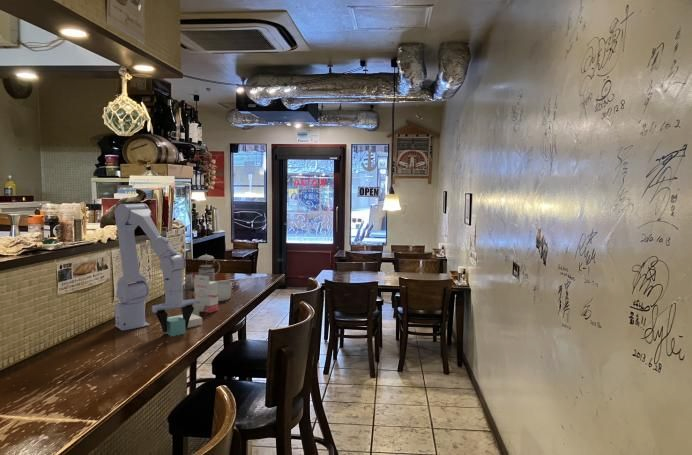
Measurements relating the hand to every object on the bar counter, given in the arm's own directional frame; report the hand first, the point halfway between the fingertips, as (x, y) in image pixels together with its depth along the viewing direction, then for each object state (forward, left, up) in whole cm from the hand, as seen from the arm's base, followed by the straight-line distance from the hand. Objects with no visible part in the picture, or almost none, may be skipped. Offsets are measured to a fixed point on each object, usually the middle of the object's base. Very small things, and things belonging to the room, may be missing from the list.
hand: (175, 329), depth 163 cm
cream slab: (+7, +8, -2) cm, 11 cm away
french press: (+47, +69, -2) cm, 84 cm away
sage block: (+14, +18, -2) cm, 23 cm away
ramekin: (+35, +37, -2) cm, 51 cm away
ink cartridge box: (+22, +21, -2) cm, 30 cm away
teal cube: (0, 0, -2) cm, 2 cm away
